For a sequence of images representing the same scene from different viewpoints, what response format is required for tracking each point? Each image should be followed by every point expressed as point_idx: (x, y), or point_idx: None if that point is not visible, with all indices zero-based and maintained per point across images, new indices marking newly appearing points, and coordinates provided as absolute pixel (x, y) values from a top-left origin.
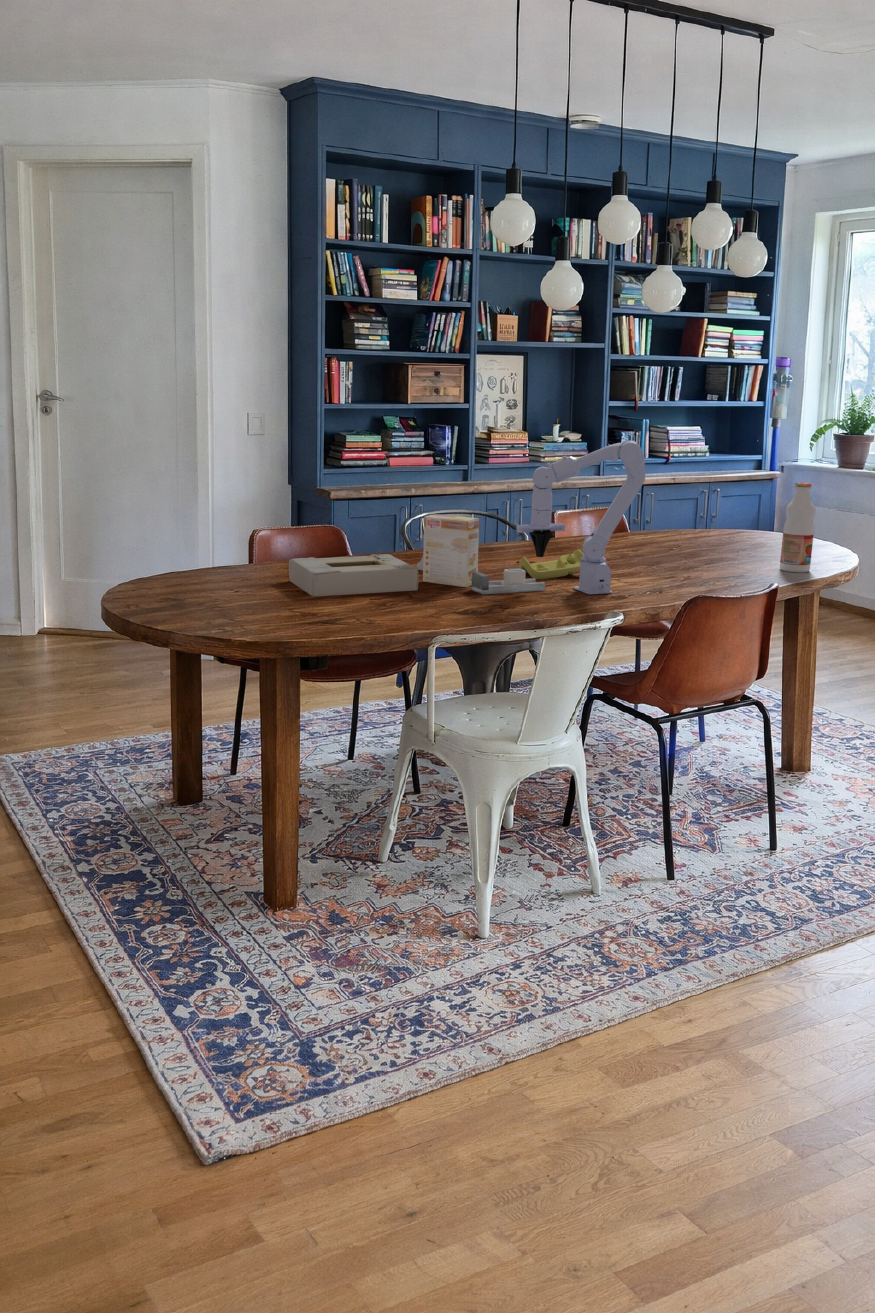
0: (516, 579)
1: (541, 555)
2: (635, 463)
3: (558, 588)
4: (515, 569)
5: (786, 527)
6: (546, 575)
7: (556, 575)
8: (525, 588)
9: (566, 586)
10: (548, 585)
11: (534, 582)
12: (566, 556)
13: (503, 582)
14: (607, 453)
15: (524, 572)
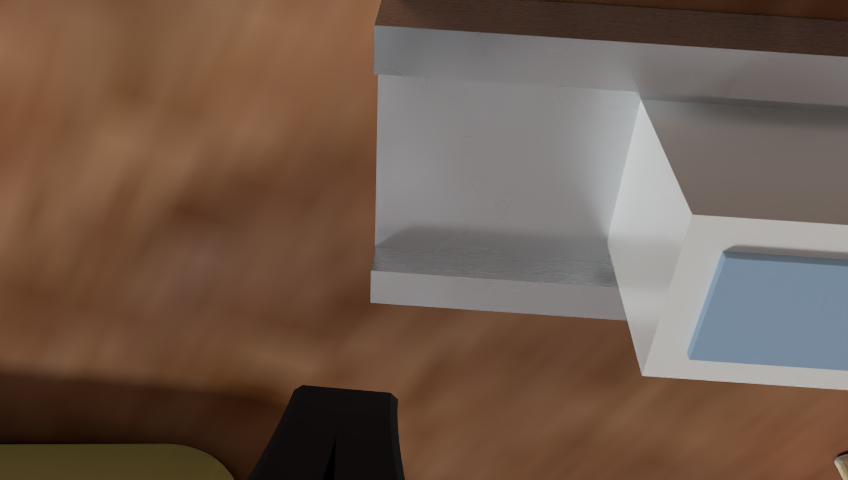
0: (808, 158)
1: (346, 408)
2: None
3: (152, 46)
4: (792, 320)
5: None
6: (107, 457)
7: (3, 450)
8: (686, 24)
9: (14, 112)
10: (208, 220)
11: (387, 248)
12: None
13: None
14: None
15: (707, 201)
